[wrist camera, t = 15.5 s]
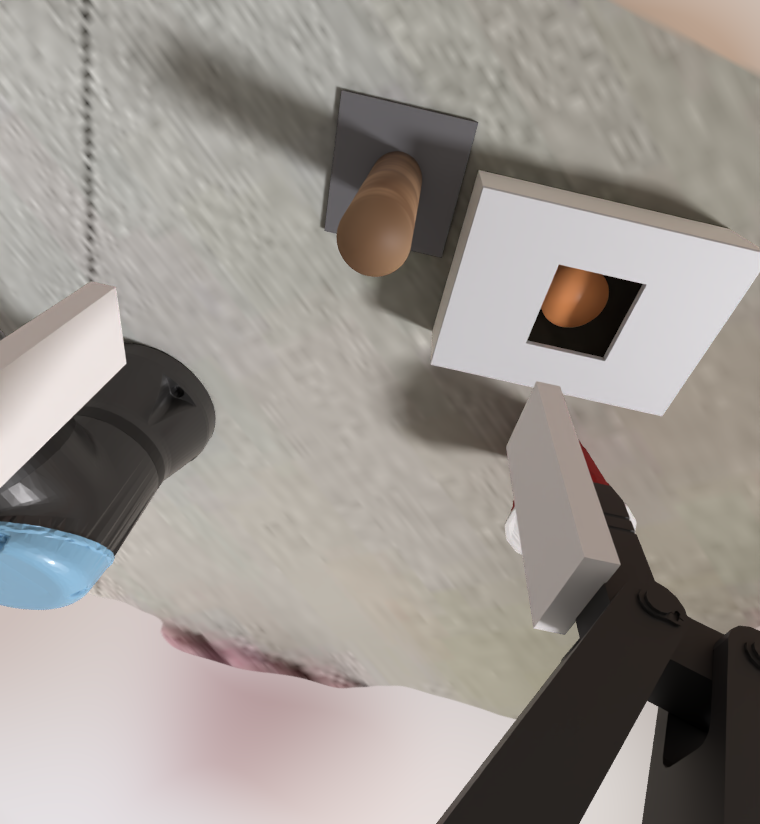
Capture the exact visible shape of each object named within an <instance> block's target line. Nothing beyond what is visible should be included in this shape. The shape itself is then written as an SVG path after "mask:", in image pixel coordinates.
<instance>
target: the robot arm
mask: <svg viewBox="0 0 760 824" xmlns="http://www.w3.org/2000/svg"><path fill="white" fill-rule="evenodd" d="M214 428H215V411H214V406H213V403H212V401H211V398H210V396H209V394H208V392H207V391H206V389H205V388H204V386H203V385H202V383H201V382H200V381H199V380H198V378H197V377H196V376H195V375H194V374H193V373H192V372H191V371H190V370H189V369H187V368H186V367H185V366H184V365H182V364H181V363H180V362H178V361H177V360H175V359H174V358H172V357H170V356H169V355H167V354H165V353H163V352H160V351H158V350H155V349H153V348H150V347H147V346H143V345H138V344H131V343H124V342H123V335H122V327H121V320H120V313H119V305H118V298H117V291H116V287H114V286H109V285H105V284H100V283H96V282H89V283H88V284H86V285H85V286H83V287H81V288H80V289H78V290H77V291H75V292H74V293H72V294H71V295H69V296H68V297H66V298H65V299H63V300H62V301H60V302H59V303H57V304H55V305H54V306H52V307H51V308H49V309H48V310H46V311H45V312H43V313H42V314H40V315H39V316H37V317H36V318H34V319H33V320H31V321H30V322H28V323H26V324H25V325H23V326H22V327H20V328H19V329H17V330H16V331H14V332H13V333H11V334H10V335H8V336H7V337H6V336H5V334H4V333H3V332H2V331H1V329H0V605H3V606H7V607H13V608H19V609H31V610H47V609H54V608H61V607H64V606H67V605H70V604H72V603H74V602H76V601H78V600H80V599H81V598H82V597H83V596H85V595H86V594H87V593H88V592H89V591H90V589H91V588H92V587H93V585H94V584H95V583H96V582H97V580H98V579H99V578H100V576H101V575H102V574H103V573H104V571H105V570H106V569H107V568H108V567H109V566H110V565H111V564H112V563H113V561H114V558H115V557H114V556H115V555H116V553H117V552H118V550H119V548H120V547H121V545H122V544H123V542H124V541H125V539H126V538H127V536H128V535H129V533H130V531H131V530H132V528H133V527H134V525H135V524H136V522H137V521H138V519H139V517H140V516H141V514H142V513H143V511H144V510H145V508H146V507H147V505H148V504H149V502H150V500H151V499H152V497H153V496H154V494H155V492H156V491H157V489H158V488H159V486H160V485H161V483H162V482H163V481H164V480H165V479H167V478H168V477H169V476H171V475H172V474H174V473H175V472H176V471H178V470H179V469H180V468H182V467H183V466H184V465H186V464H187V463H189V462H190V461H192V460H194V459H195V458H196V457H197V456H198V455H199V454H200V453H201V452H202V450H203V449H204V447H205V446H206V444H207V443H208V441H209V439H210V438H211V436H212V434H213V431H214ZM506 450H507V457H508V463H509V470H510V476H511V483H512V490H513V496H514V503H515V509H516V516H517V522H518V529H519V536H520V542H521V549H522V555H523V562H524V568H525V575H526V582H527V588H528V595H529V601H530V608H531V614H532V621H533V628H535V629H540V630H545V631H549V632H554V633H559V634H564V635H565V634H566V633H567V632H568V630H569V629H570V628H571V627H572V625H573V624H574V623H575V622H576V623H577V628H578V632H579V636H580V638H579V640H578V641H577V642H576V643H575V644H574V645H573V647H572V648H571V649H570V650H569V651H568V653H567V654H566V655H565V656H564V657H563V659H562V660H561V662H560V664H559V665H558V666H557V668H556V669H555V670H554V672H553V673H552V674H551V675H550V677H549V678H548V679H547V681H546V682H545V683H544V685H543V686H542V687H541V688H540V690H539V691H538V692H537V694H536V695H535V696H534V698H533V699H532V700H531V701H530V703H529V704H528V705H527V707H526V708H525V709H524V710H523V712H522V713H521V714H520V716H519V717H518V718H517V720H516V721H515V722H514V723H513V725H512V726H511V727H510V729H509V730H508V731H507V733H506V734H505V735H504V737H503V738H502V739H501V740H500V742H499V743H498V744H497V746H496V747H495V748H494V749H493V751H492V752H491V753H490V755H489V756H488V757H487V758H486V760H485V761H484V762H483V764H482V765H481V766H480V768H479V769H478V770H477V771H476V773H475V774H474V776H473V777H472V778H471V779H470V781H469V782H468V783H467V785H466V786H465V787H464V788H463V790H462V791H461V792H460V794H459V795H458V796H457V798H456V799H455V800H454V801H453V803H452V804H451V805H450V807H449V808H448V809H447V810H446V812H445V813H444V815H443V816H442V817H441V818H440V820H439V821H438V822H437V823H436V824H579V823H580V821H581V819H582V817H583V815H584V814H585V812H586V810H587V808H588V806H589V805H590V803H591V801H592V799H593V797H594V796H595V794H596V792H597V790H598V789H599V787H600V785H601V783H602V781H603V779H604V778H605V776H606V774H607V772H608V770H609V769H610V767H611V765H612V763H613V761H614V760H615V758H616V756H617V754H618V752H619V751H620V749H621V747H622V745H623V743H624V741H625V740H626V738H627V736H628V734H629V732H630V730H631V729H632V727H633V725H634V723H635V721H636V720H637V718H638V716H639V714H640V712H641V711H642V709H643V707H644V705H645V704H646V702H647V701H649V702H651V703H653V704H654V705H656V706H658V714H657V720H656V728H655V735H654V742H653V750H652V756H651V763H650V770H649V777H648V784H647V792H646V799H645V806H644V813H643V820H642V824H760V631H758V630H756V629H754V628H751V627H746V626H737V627H735V628H733V629H731V630H730V631H729V632H728V633H726V634H725V635H724V634H722V633H720V632H718V631H716V630H713V629H711V628H709V627H707V626H705V625H703V624H701V623H699V622H697V621H695V620H693V619H691V618H690V617H688V616H687V615H686V612H685V609H684V607H683V606H682V604H681V603H680V601H679V600H678V599H677V597H676V596H674V595H673V594H672V593H671V592H670V591H669V590H668V589H667V588H665V587H664V586H662V585H660V584H659V583H657V582H655V580H654V578H653V575H652V573H651V570H650V567H649V565H648V562H647V560H646V557H645V555H644V552H643V550H642V547H641V545H640V542H639V540H638V537H637V534H635V529H634V527H633V524H632V522H631V521H630V520H629V519H630V517H629V514H628V512H627V509H626V506H625V504H624V502H623V500H622V499H621V498H620V497H619V495H618V494H617V493H616V492H615V491H614V489H613V488H612V487H611V486H609V485H604V484H600V483H595V482H593V481H592V479H591V476H590V473H589V470H588V467H587V464H586V461H585V458H584V455H583V452H582V449H581V446H580V443H579V440H578V437H577V434H576V431H575V428H574V426H573V423H572V420H571V417H570V414H569V411H568V408H567V405H566V402H565V399H564V396H563V393H562V390H561V387H560V386H556V385H552V384H547V383H543V382H538V381H536V383H535V385H534V387H533V389H532V391H531V394H530V396H529V398H528V400H527V402H526V405H525V407H524V409H523V411H522V413H521V415H520V418H519V420H518V422H517V424H516V426H515V428H514V431H513V433H512V435H511V437H510V439H509V442H508V444H507V446H506Z"/></svg>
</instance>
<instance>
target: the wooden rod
mask: <svg viewBox="0 0 760 824" xmlns="http://www.w3.org/2000/svg"><path fill="white" fill-rule="evenodd" d="M421 186H422V173H421V169H420V167H419V165H418V163H417V162H416V161H415V159H414V158H413V157H411V156H410V155H408V154H406V153H404V152H399V151H394V152H389V153H386V154H384V155H383V156H381V157H380V158H379V159H378V160H377V162H376V163H375V164H374V166H373V168H372V169H371V171H370V173H369V174H368V176H367V178H366V179H365V181H364V182H363V184H362V186H361V187H360V189H359V191H358V192H357V194H356V195H355V197H354V199H353V200H352V202H351V204H350V205H349V207H348V208H347V210H346V212H345V213H344V215H343V217H342V218H341V220H340V222H339V225H338V229H337V245H338V249H339V252H340V254H341V256H342V258H343V259H344V261H345V262H346V263H347V264H348V265H349V266H350V267H351V268H352V269H354V270H355V271H357V272H358V273H361V274H363V275H367V276H373V277H378V276H384V275H388V274H390V273H392V272H394V271H396V270H397V269H398V268H399V267H400V266H402V264H403V263H404V262H405V260H406V259H407V257H408V255H409V252H410V249H411V243H412V237H413V232H414V226H415V220H416V215H417V209H418V203H419V198H420V192H421Z"/></svg>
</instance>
